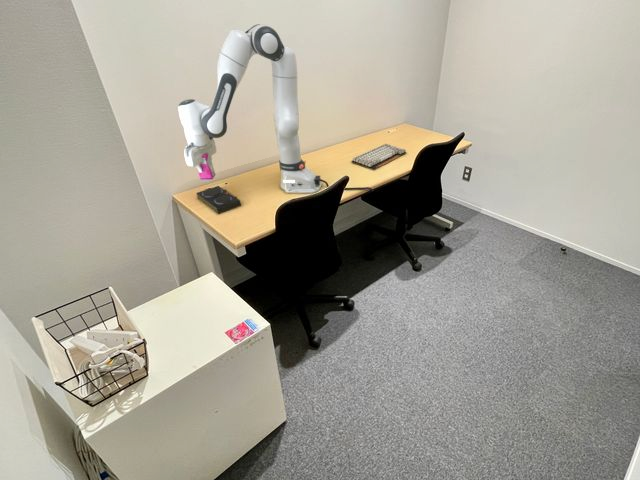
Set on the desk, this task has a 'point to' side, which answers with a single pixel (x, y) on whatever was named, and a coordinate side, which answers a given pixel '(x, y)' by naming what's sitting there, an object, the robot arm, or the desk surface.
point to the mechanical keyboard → (378, 156)
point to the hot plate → (218, 199)
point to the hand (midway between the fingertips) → (205, 168)
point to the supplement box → (207, 167)
